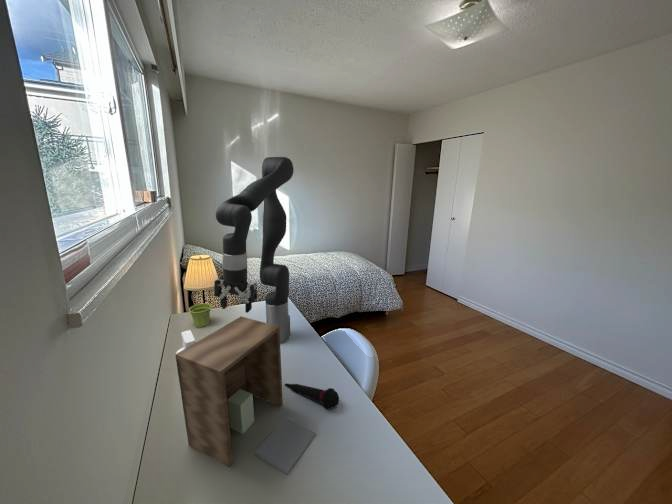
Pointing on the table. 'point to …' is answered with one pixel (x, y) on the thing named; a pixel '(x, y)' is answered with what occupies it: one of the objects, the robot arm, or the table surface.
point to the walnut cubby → (227, 380)
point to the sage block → (241, 410)
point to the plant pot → (200, 314)
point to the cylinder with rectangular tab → (186, 340)
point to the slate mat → (286, 445)
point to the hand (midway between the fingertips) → (236, 309)
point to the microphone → (317, 394)
